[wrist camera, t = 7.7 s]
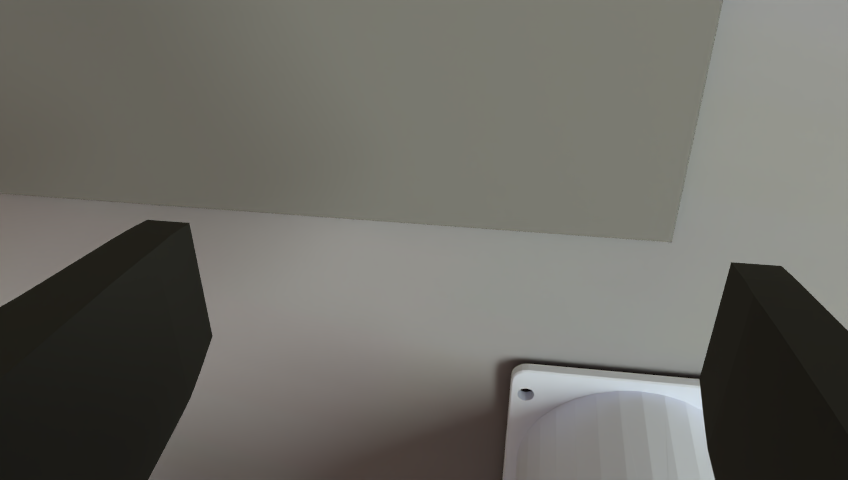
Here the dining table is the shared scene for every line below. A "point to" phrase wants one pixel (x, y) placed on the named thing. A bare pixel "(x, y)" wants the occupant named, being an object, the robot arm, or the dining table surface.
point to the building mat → (362, 108)
